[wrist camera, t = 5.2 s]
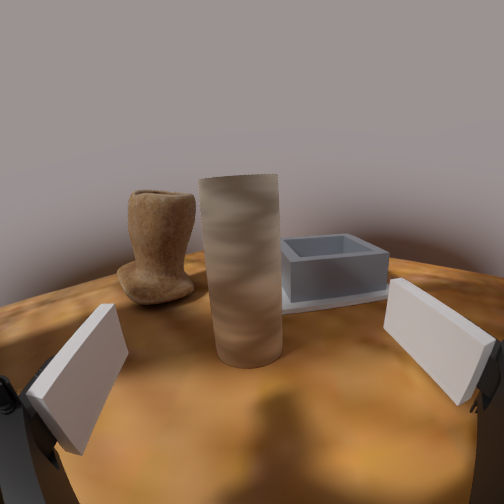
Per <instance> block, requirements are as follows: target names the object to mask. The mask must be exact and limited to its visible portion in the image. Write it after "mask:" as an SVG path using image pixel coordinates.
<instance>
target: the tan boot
mask: <svg viewBox="0 0 504 504" xmlns="http://www.w3.org/2000/svg"><path fill="white" fill-rule="evenodd" d="M195 213H196V202H195V198H194V195H192V194H190V193H189V194H188V193H179V192H173V193H172V192H168V191H159V190H137V191H134V192H133V193H132V194H131V196H130V198H129V202H128V231H129V236H130V239H131V242H132V246H133V249H134V254H135V258H136V261H133V262H130V263H128V264H126V265H124V266H122V267H121V268H120V269H118V272H117V274H118V278H119V281H120V283H121V285H122V288H123V290H124V291H125V293H126V294H127V296H128V297H129V298H130V299H131V300H132V301H133V302H135V303H138V304H145V305H149V304H159V303H165V302H169V301H173V300H176V299H179V298H182V297H184V296H186V295H188V294H190V293H191V292H192V291H193V290H194V284H193V282H192V281H191V279H190V277H189V276H188V275H187V274H186V273H185V272H184V257H185V253H186V249H187V245H188V242H189V239H190V236H191V232H192V229H193V226H194V221H195Z"/></svg>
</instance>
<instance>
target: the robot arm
mask: <svg viewBox="0 0 504 504" xmlns="http://www.w3.org/2000/svg"><path fill="white" fill-rule="evenodd" d="M383 328H384V329H385V330H386V331H387V332H388V333H389V334H390V335H391V336H392V337H393V338H394V339H395V340H396V341H397V342H398V343H399V344H400V345H401V346H402V347H403V348H404V349H405V350H406V351H407V353H408V354H409V355H410V356H411V357H412V358H413V359H414V360H415V361H416V362H417V363H418V364H419V365H420V366H421V367H422V368H423V369H424V370H425V371H426V372H427V373H428V374H429V375H430V377H431V378H432V379H433V380H434V381H435V382H436V383H437V384H438V385H439V386H440V387H441V388H442V389H443V391H444V392H445V393H446V394H447V395H448V396H449V397H450V398H451V399H452V400H453V401H454V403H455V404H456V405H457V406H459V405H461V404H462V403H464V402H466V401H467V400H469V399H470V398H471V396H472V394H473V392H474V390H475V388H476V387H477V388H478V389H479V390H480V392H479V394H478V396H477V398H476V400H475V402H474V403H473V405H472V407H471V409H470V413H472V412H473V410H474V408H475V407H476V406H477V410H476V411H475V413H478V425H477V449H476V461H475V470H474V477H473V484H472V490H471V495H470V500H469V504H504V340H503V341H502V342H500V341H499V340H497V339H496V338H495V337H493V336H492V335H490V334H489V333H488V332H486V331H485V330H483V329H482V328H479V326H477V325H476V324H473V322H472V321H470V320H469V319H467V318H466V317H463V316H462V315H460V314H459V313H457V312H456V311H454V310H453V309H451V308H449V307H448V306H446V305H445V304H443V303H442V302H440V301H439V300H437V299H436V298H434V297H432V296H431V295H429V294H428V293H426V292H425V291H423V290H421V289H420V288H418V287H416V286H415V285H413V284H412V283H410V282H408V281H407V280H405V279H403V278H397V279H390V285H389V294H388V301H387V308H386V315H385V321H384V327H383ZM128 354H129V352H128V349H127V346H126V343H125V340H124V336H123V333H122V329H121V326H120V322H119V319H118V315H117V311H116V307H115V304H100V306H99V307H98V308H97V309H96V310H95V311H94V312H93V313H92V314H91V315H90V316H89V318H88V319H87V320H86V321H85V322H84V323H83V324H82V325H81V326H80V328H79V329H78V330H77V331H76V332H75V333H74V334H73V336H72V337H71V338H70V339H69V340H68V341H67V343H66V344H65V345H64V346H63V347H62V348H61V350H60V351H59V352H58V353H57V354H56V355H54V356H53V357H51V358H50V359H48V360H47V361H46V362H45V363H44V364H43V365H42V367H41V368H40V370H38V371H37V373H36V374H35V377H34V376H33V378H32V379H31V380H30V382H29V383H28V384H27V385H26V387H25V388H24V389H23V391H22V392H21V393H20V395H19V396H18V395H17V393H16V391H15V390H14V388H13V386H12V384H11V383H10V381H9V379H8V378H7V377H6V376H2V375H0V504H80V503H79V501H78V499H77V497H76V495H75V493H74V491H73V489H72V487H71V484H70V482H69V480H68V477H67V475H66V472H65V470H64V467H63V465H62V462H61V460H60V457H59V454H58V452H57V451H56V449H55V448H54V446H55V444H56V442H58V443H59V444H60V445H61V447H62V448H63V449H64V450H65V451H66V452H70V453H73V454H77V455H80V456H82V455H83V453H84V450H85V448H86V445H87V443H88V441H89V438H90V436H91V433H92V431H93V429H94V426H95V424H96V422H97V419H98V417H99V415H100V413H101V410H102V408H103V406H104V404H105V402H106V399H107V397H108V395H109V393H110V391H111V389H112V387H113V384H114V382H115V380H116V378H117V376H118V374H119V372H120V370H121V368H122V366H123V364H124V362H125V360H126V358H127V356H128Z"/></svg>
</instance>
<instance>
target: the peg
mask: <svg viewBox="0 0 504 504" xmlns="http://www.w3.org/2000/svg"><path fill="white" fill-rule="evenodd" d="M198 185H199V198H200V211H201V221H202V222H201V223H202V234H203V243H204V254H205V264H206V273H207V281H208V290H209V298H210V306H211V314H212V321H213V328H214V336H215V343H216V349H217V355H218V357H219V358H220V360H221V361H223V362H224V363H226V364H227V365H230V366H233V367H237V368H244V369H250V368H258V367H262V366H265V365H268V364H270V363H272V362H274V361H275V360H276V359H277V358H278V357H279V356H280V355H281V353H282V350H283V335H282V274H281V241H280V216H279V193H278V175H277V174H257V175H239V176H225V177H214V178H205V179H199V180H198Z"/></svg>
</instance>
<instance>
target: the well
mask: <svg viewBox="0 0 504 504" xmlns="http://www.w3.org/2000/svg"><path fill="white" fill-rule="evenodd" d="M280 241H281V274H282V315H283V314H292V313H300V312H308V311H316V310H323V309H330V308H337V307H344V306H350V305H356V304H362V303H368V302H374V301H380V300H385V299H388V294H389V284H388V283H387V276H388V265H389V252H387V251H385V250H383V249H381V248H378V247H376V246H374V245H372V244H370V243H368V242H366V241H363V240H361V239H359V238H357V237H354V236H353V235H350V234H333V235H319V236H303V237H289V238H280Z"/></svg>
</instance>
